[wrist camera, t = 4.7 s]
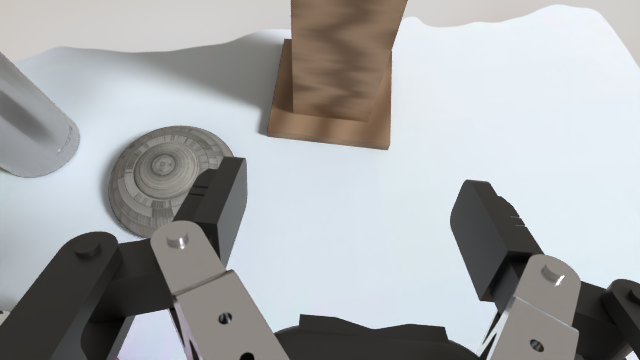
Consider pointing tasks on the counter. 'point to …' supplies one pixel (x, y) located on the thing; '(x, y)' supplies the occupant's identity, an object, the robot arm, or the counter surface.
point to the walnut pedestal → (337, 73)
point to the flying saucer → (161, 175)
